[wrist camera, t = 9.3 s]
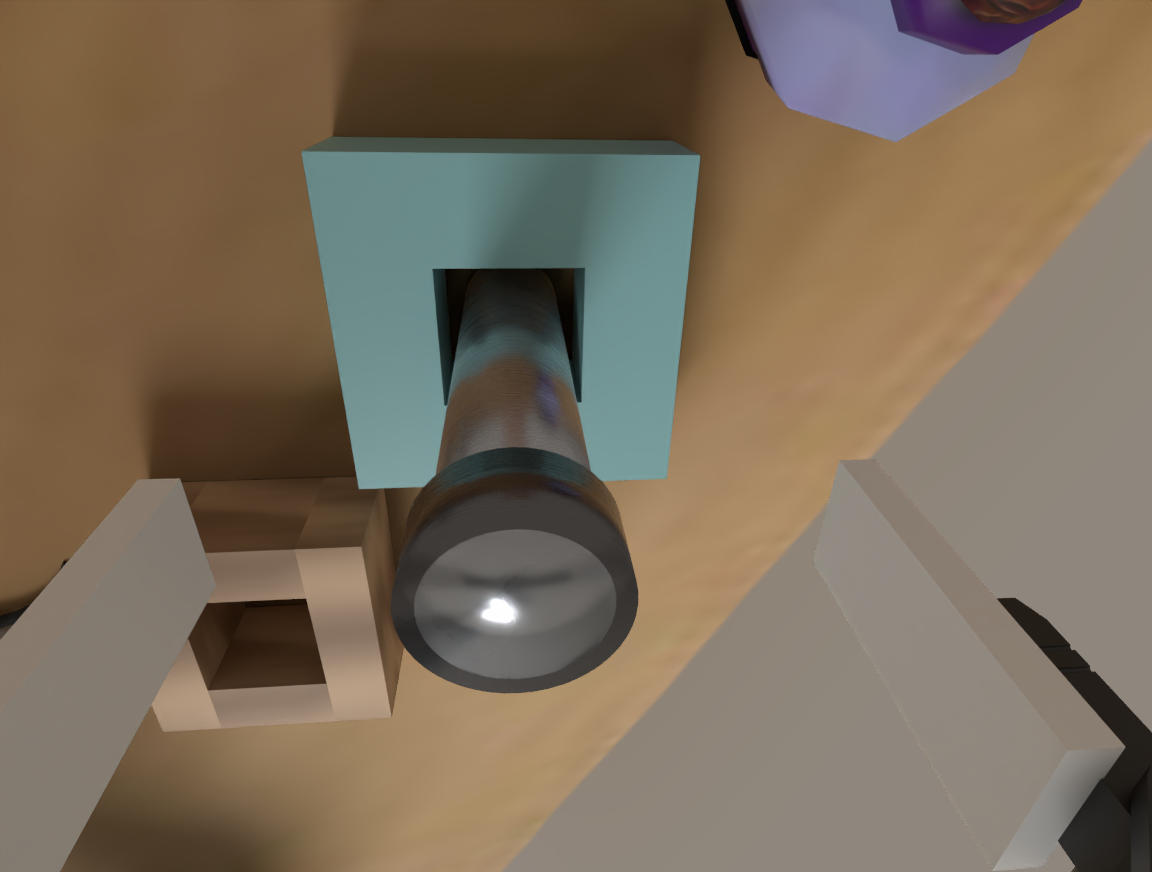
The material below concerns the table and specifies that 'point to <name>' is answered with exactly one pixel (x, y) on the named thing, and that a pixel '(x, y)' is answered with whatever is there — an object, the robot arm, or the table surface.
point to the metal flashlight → (513, 511)
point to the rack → (288, 608)
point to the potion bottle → (888, 54)
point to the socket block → (503, 240)
